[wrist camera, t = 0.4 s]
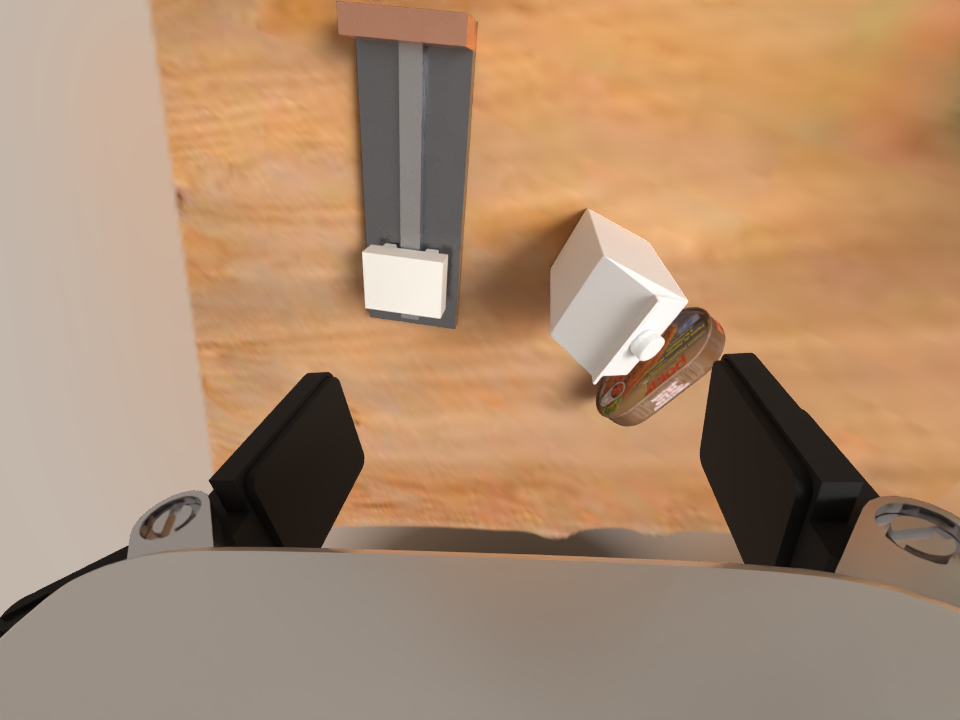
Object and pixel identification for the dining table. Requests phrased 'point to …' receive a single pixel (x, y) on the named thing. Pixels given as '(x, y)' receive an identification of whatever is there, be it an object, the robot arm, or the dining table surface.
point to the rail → (414, 131)
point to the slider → (405, 280)
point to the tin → (663, 369)
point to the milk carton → (610, 298)
